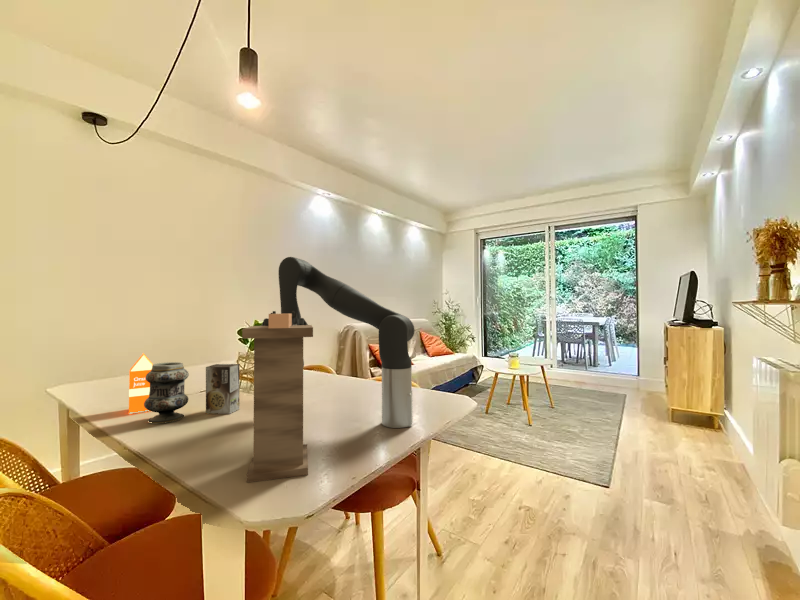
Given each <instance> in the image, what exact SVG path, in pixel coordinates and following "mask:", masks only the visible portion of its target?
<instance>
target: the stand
mask: <svg viewBox="0 0 800 600" xmlns="http://www.w3.org/2000/svg"><path fill="white" fill-rule="evenodd" d="M241 333H242V337H241V338H242V339H247V340H249V339H253V345H254V346H253V456H252V459H251V462H250V464H249V467H248V470H247V473H246V483H253V482H261V481H269V480H278V479H284V478H285V479H286V478H287V479H288V478H294V477H303V476H308V475H309V461H308V459H309V458H308V444H307V443H305V444H304V367H303V360H304V338H313V337H314V327H313V325H312V324H308V325H291V326H290V327H289V328H269V326H261V325H252V326H249V327H244V328H242V332H241Z"/></svg>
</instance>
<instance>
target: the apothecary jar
mask: <svg viewBox="0 0 800 600" xmlns="http://www.w3.org/2000/svg"><path fill="white" fill-rule="evenodd" d="M189 376H190V374H189V371H188V370H187V369H185V367H184V363H183V362H178V361H177V362H176V361H175V362H173V361H172V362H171V361H170V362H168V361H167V362H159V363H157V362H156V363H153V365H152V369H151V371H150V372H149V373H148V374H147V375H146V377H145V378H146V381H147V382H149V383H150V392H149V397H148V398H147V399H146V400H145V402H144V407H145V408H146V409H147V410H149V411H152V412H153V413H158V414H157V415H154V416H152V417H151V418H149V419H148V420H147V422H148V421H149V422H152V423H161V424H166V423H165V422H169V423H173V422H172V421H174V422H177V421H180V420H183V419H184V418H185V415H184V413H180V412H178V411H177V410H180V409H183V407H185V406H186V404H187V403H188V402H189V396H188V395H187V394H185V381H186V380H187V379H188V377H189ZM175 411H177V412H175ZM152 412H151V413H152ZM182 418H183V419H182Z"/></svg>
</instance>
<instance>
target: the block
mask: <svg viewBox="0 0 800 600" xmlns="http://www.w3.org/2000/svg"><path fill="white" fill-rule="evenodd" d="M268 319H269V328H289V327H290V326H291V325H292V314H281V313H276V314H271V313H268Z"/></svg>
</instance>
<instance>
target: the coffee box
mask: <svg viewBox="0 0 800 600" xmlns="http://www.w3.org/2000/svg"><path fill="white" fill-rule="evenodd" d="M238 409H239V410H240V363H218V364H217V363H216V364H212V365H209V366H206V367H205V414H206V413H218V414H222V415H226V414H229V415H231V414H232V412H233V413H235V412H237V411H239V410H238ZM236 410H237V411H236Z"/></svg>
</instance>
